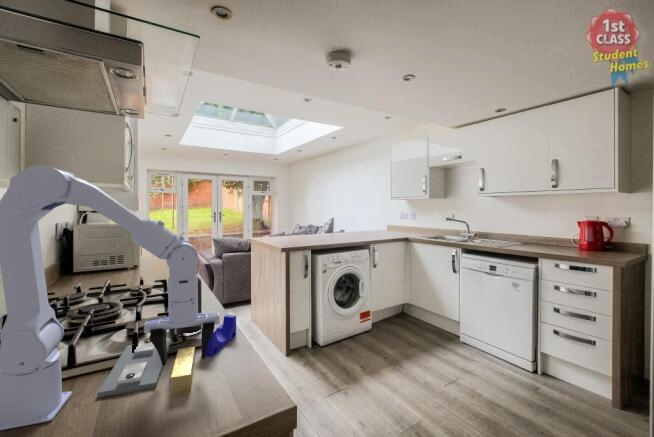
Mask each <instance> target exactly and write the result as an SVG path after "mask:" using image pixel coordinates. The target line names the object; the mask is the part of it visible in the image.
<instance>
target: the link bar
mask: <svg viewBox="0 0 654 437" xmlns="http://www.w3.org/2000/svg"><path fill="white" fill-rule="evenodd" d="M195 348H196V347H195V346H191V347H190V346H189V347H184V348H178V350H177V353H176V356H175V357H176V358H175V361H174V364H173V369H172V372H171V376H170V383H171V384H170V394H171V395H170V396H171V397H174V396H175V397H176V396H179V395H184V394H189V393H192V386H193V379H194V373H195V366H196V365H195V364H196V363H195V362H196V352H195V351H196V349H195Z"/></svg>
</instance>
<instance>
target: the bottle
mask: <svg viewBox="0 0 654 437" xmlns="http://www.w3.org/2000/svg"><path fill="white" fill-rule="evenodd" d="M198 266H199V263H198V264H197V266H196V267H197V273H196V275H197V276H198V272H199V271H198V270H199V267H198ZM202 304H203V303H202V279H201V278H200V277H198V313H203V312H202V307H203V305H202ZM202 326H203V325H199V326H191V327H183V328H175V332H176V333H177V334H176V335H177V336H178V335H181V334H182V333H193V332H197V331H199V330H201V329H202ZM201 331H202V330H201Z"/></svg>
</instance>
